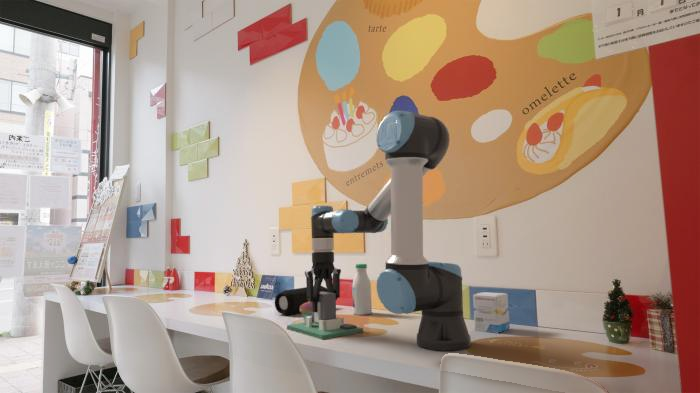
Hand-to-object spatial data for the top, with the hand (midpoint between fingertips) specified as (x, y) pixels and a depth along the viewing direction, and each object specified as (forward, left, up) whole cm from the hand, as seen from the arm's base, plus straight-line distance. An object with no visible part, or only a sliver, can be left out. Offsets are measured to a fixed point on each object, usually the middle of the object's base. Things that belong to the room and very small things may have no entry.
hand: (323, 320), depth 151 cm
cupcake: (+18, -6, -3) cm, 19 cm away
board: (0, 0, -3) cm, 3 cm away
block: (0, 0, -1) cm, 1 cm away
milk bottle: (+17, -30, -3) cm, 35 cm away
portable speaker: (+39, -16, -3) cm, 43 cm away
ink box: (-37, -41, -3) cm, 55 cm away
